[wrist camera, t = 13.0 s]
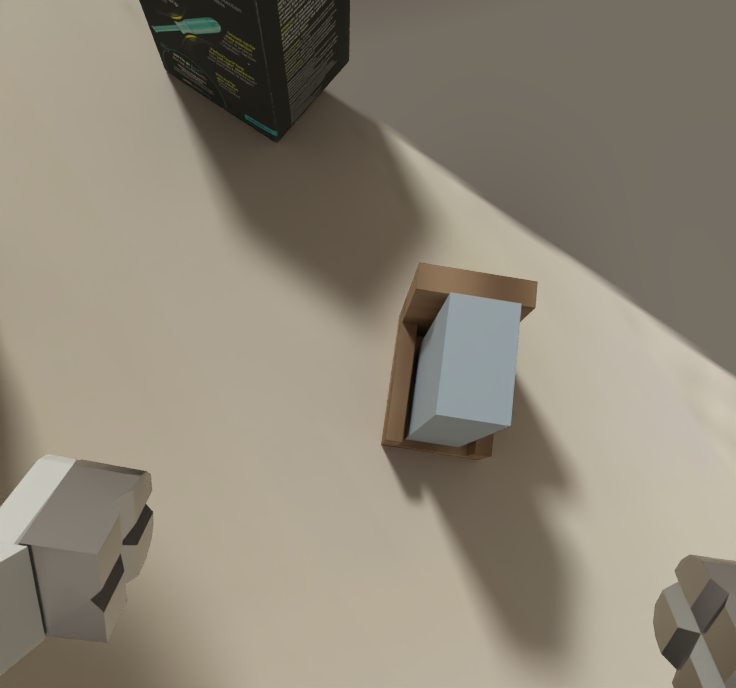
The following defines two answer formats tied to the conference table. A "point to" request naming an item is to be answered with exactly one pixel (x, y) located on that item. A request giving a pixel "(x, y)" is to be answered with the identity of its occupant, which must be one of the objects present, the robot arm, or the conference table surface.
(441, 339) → the blue-grey rectangular block
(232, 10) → the tampon box
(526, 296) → the brown wooden holder
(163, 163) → the conference table surface
